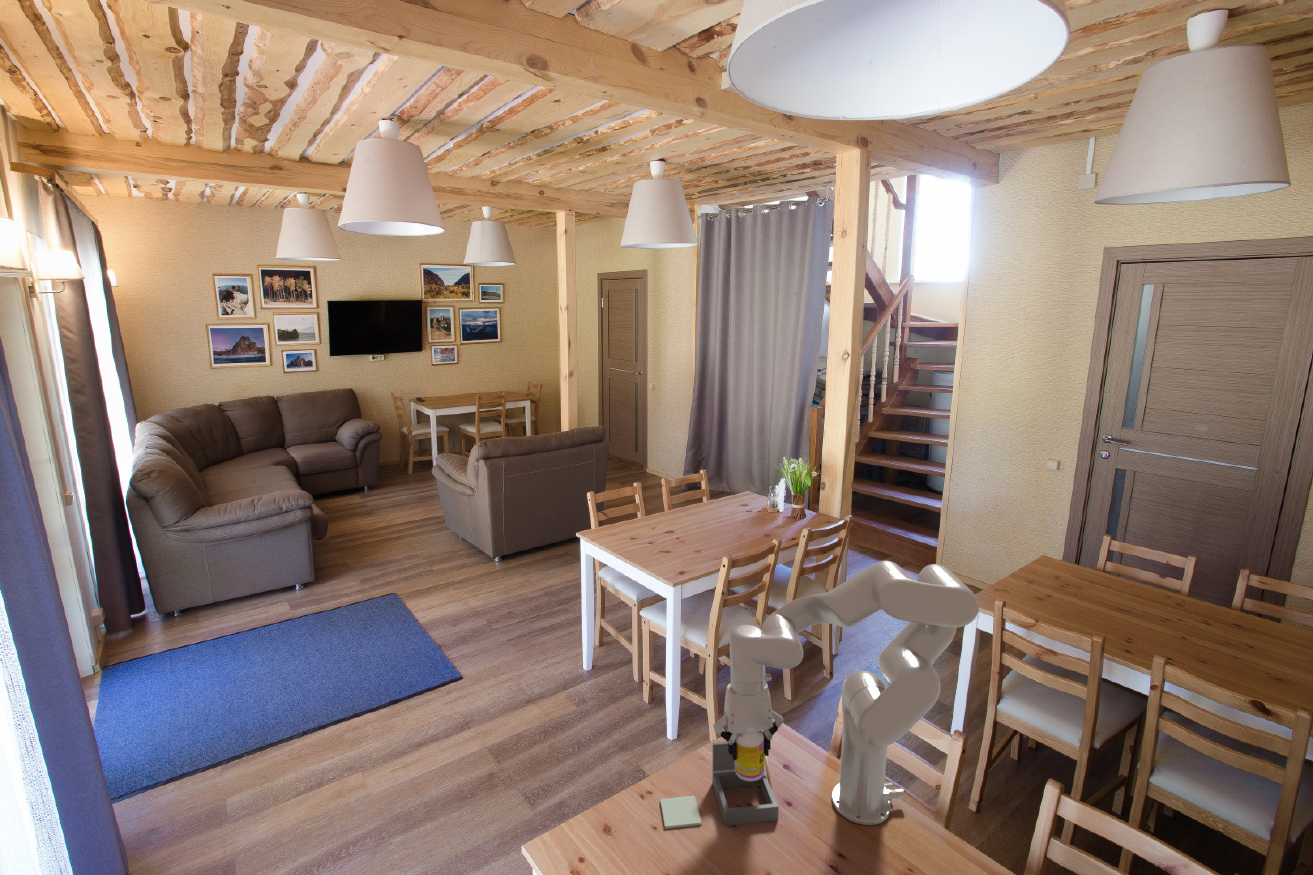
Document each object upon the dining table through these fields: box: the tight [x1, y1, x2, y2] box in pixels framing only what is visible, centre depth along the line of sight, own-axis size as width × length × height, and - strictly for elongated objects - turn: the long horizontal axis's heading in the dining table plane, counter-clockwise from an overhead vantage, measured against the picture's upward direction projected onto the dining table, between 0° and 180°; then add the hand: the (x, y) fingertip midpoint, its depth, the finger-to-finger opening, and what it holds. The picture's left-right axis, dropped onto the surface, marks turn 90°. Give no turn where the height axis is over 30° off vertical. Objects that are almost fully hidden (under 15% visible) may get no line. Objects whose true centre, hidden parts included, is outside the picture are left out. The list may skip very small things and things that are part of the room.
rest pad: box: [659, 795, 702, 830], centre depth 143 cm, size 8×8×1 cm
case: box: [711, 740, 779, 827], centre depth 145 cm, size 13×13×11 cm
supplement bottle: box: [735, 728, 765, 781], centre depth 143 cm, size 7×7×13 cm
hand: (749, 753), depth 143 cm, fingers closed on supplement bottle, 6 cm apart
